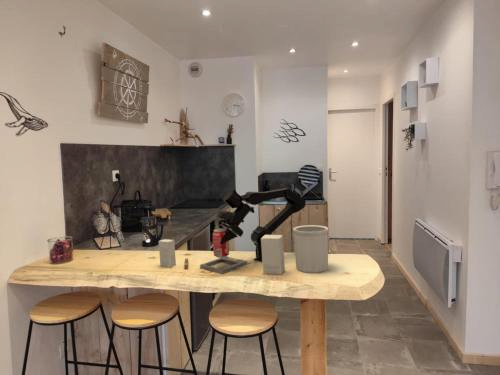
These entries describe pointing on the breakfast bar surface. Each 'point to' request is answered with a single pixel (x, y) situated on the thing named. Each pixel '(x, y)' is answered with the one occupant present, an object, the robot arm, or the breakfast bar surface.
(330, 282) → the breakfast bar surface
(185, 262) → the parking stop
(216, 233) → the soda can
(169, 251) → the skincare box
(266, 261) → the skincare box
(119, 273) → the breakfast bar surface
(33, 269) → the breakfast bar surface
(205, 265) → the plate
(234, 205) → the robot arm
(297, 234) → the utensil holder
